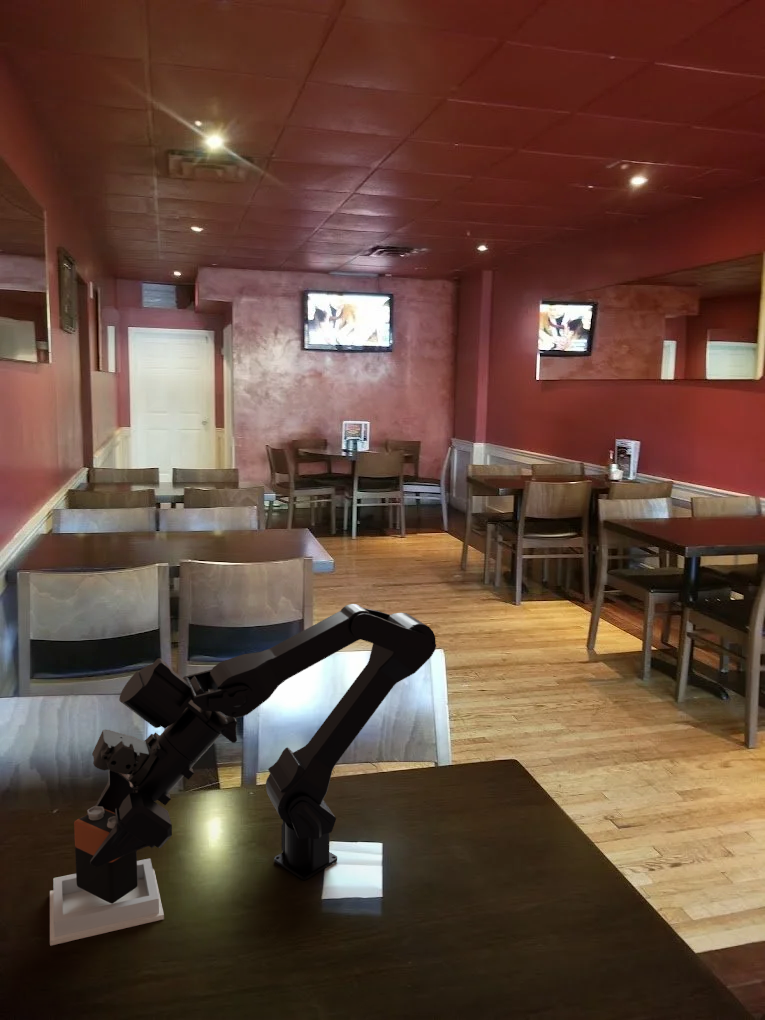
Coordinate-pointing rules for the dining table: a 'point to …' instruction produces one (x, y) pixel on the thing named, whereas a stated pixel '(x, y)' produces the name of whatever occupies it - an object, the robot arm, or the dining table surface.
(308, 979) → the dining table surface
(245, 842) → the dining table surface
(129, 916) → the tray
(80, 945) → the dining table surface
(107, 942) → the dining table surface
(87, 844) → the battery
